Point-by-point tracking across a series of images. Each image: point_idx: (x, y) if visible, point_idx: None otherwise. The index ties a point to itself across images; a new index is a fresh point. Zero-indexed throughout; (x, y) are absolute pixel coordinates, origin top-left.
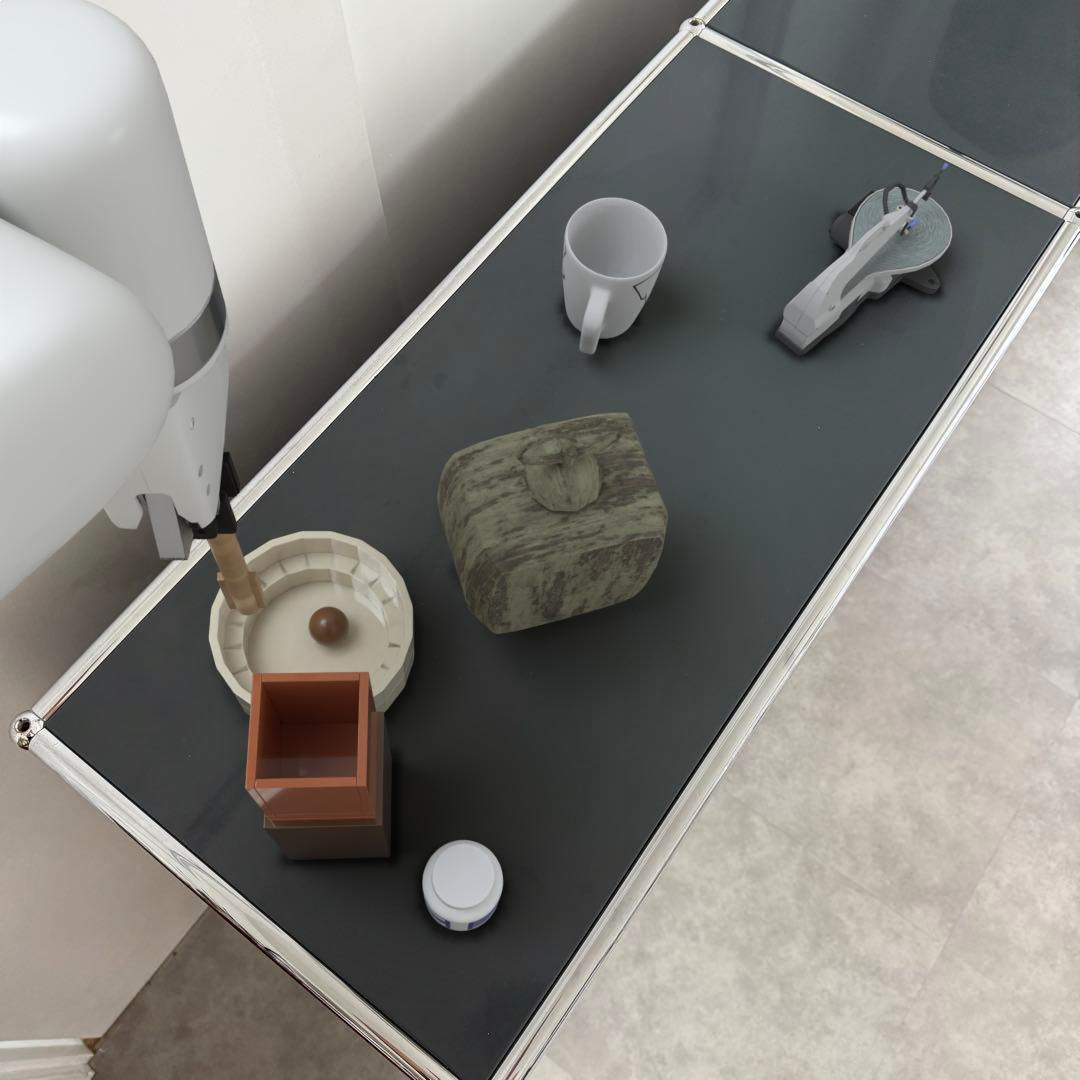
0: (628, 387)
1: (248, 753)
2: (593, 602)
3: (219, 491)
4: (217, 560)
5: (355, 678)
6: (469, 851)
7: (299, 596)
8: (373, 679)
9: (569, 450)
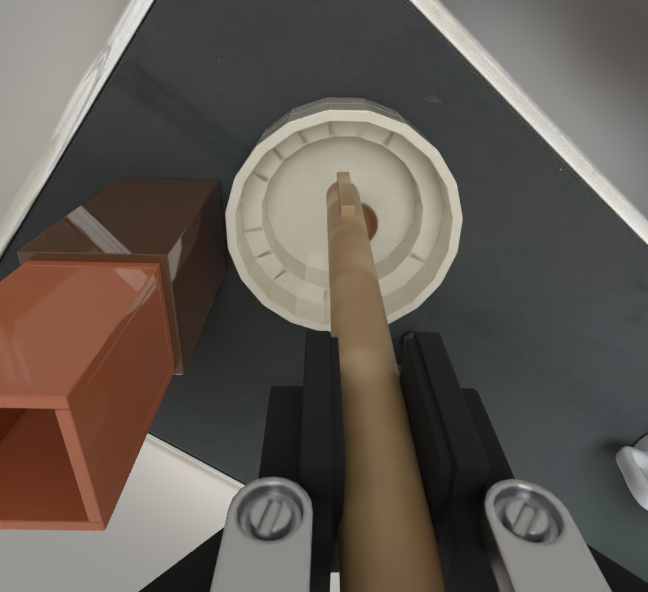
0: (573, 463)
1: None
2: None
3: (334, 571)
4: (333, 265)
5: (90, 518)
6: None
7: (400, 183)
8: (289, 275)
9: None
